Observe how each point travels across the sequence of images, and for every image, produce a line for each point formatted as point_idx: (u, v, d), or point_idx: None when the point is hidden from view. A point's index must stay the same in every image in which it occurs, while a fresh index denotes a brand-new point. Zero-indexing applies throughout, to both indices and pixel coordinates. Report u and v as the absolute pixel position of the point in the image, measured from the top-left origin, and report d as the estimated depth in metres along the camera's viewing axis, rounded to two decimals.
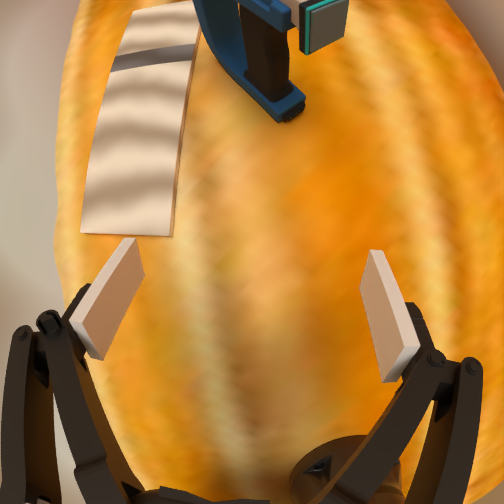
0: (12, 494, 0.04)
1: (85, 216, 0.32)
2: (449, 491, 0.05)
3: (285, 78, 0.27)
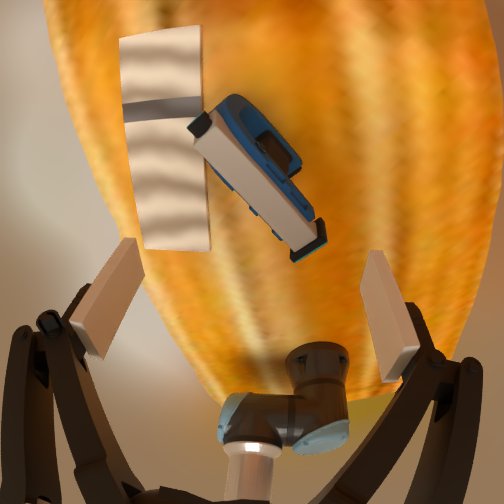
0: (12, 494, 0.04)
1: (146, 239, 0.50)
2: (449, 491, 0.05)
3: None
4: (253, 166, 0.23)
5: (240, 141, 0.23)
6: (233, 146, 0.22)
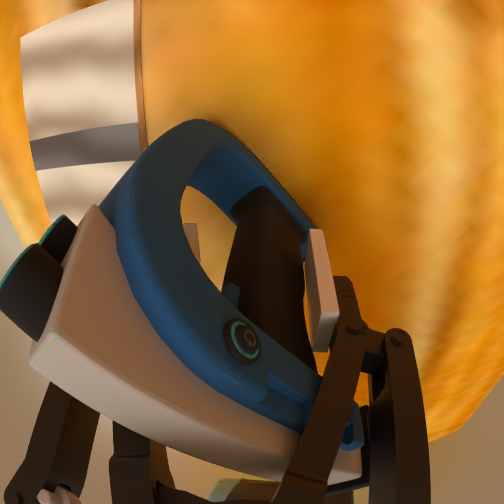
0: (31, 476, 0.05)
1: None
2: (410, 467, 0.06)
3: None
4: (217, 433, 0.06)
5: (169, 342, 0.07)
6: (137, 395, 0.05)
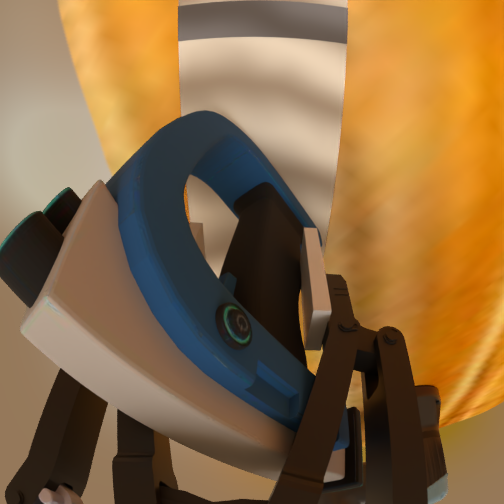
0: (33, 475, 0.05)
1: None
2: (406, 466, 0.06)
3: None
4: (202, 416, 0.06)
5: (161, 319, 0.07)
6: (125, 367, 0.05)
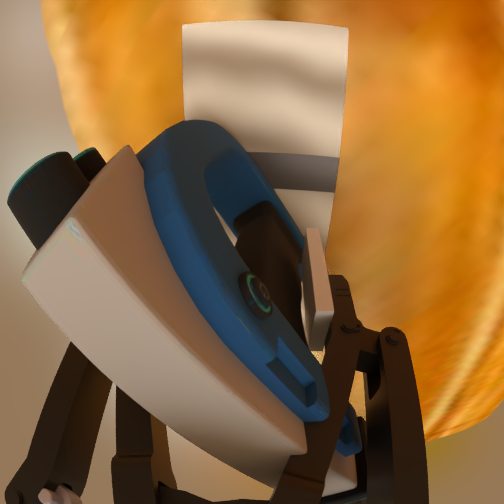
0: (32, 475, 0.05)
1: None
2: (407, 466, 0.06)
3: None
4: (221, 387, 0.06)
5: (184, 276, 0.06)
6: (143, 314, 0.05)
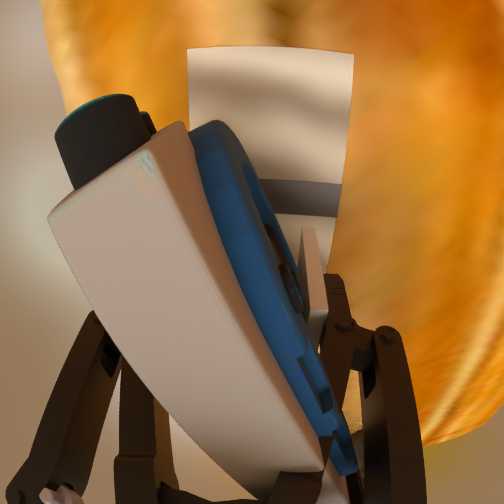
0: (34, 474, 0.05)
1: None
2: (404, 465, 0.06)
3: None
4: (261, 372, 0.05)
5: (232, 250, 0.06)
6: (200, 273, 0.05)
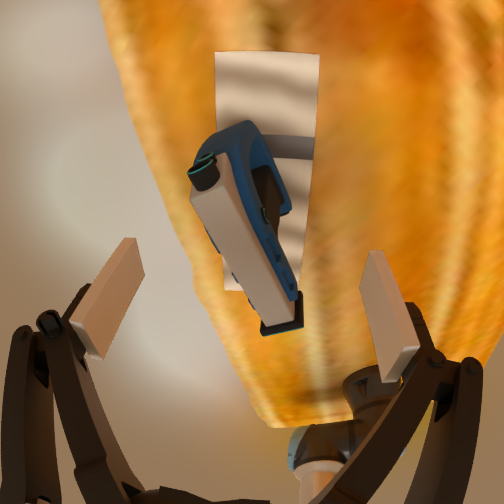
0: (12, 494, 0.04)
1: (227, 281, 0.48)
2: (449, 491, 0.05)
3: None
4: (252, 242, 0.20)
5: (245, 205, 0.20)
6: (237, 215, 0.19)
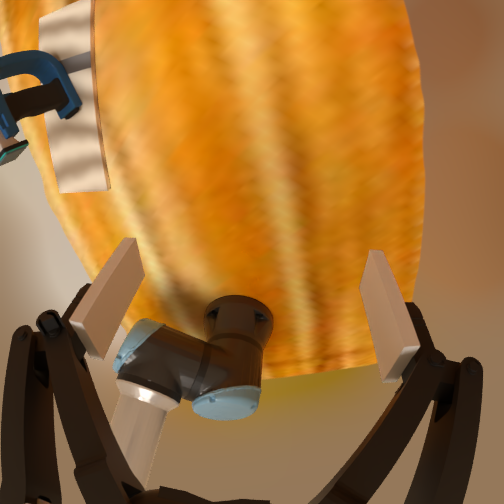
0: (12, 494, 0.04)
1: (59, 184, 0.48)
2: (449, 491, 0.05)
3: (54, 106, 0.34)
4: None
5: None
6: None
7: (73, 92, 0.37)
